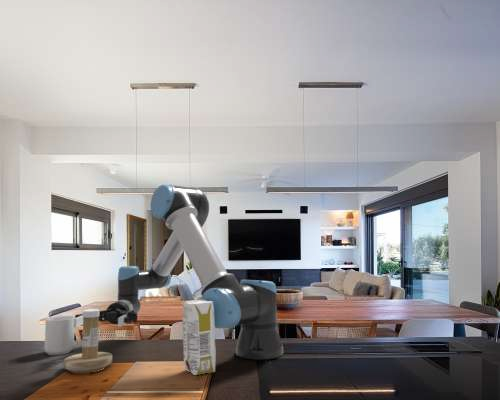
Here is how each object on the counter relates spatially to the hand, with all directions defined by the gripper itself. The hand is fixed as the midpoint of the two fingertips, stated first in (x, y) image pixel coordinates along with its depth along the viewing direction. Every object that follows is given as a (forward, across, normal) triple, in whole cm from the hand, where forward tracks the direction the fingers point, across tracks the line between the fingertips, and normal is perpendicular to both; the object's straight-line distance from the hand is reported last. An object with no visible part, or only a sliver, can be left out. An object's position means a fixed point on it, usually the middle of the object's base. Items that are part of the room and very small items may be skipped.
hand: (97, 322), depth 125 cm
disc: (+6, 0, -12) cm, 13 cm away
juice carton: (+11, -33, -12) cm, 37 cm away
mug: (-15, +17, -12) cm, 26 cm away
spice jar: (+6, 0, -9) cm, 11 cm away
